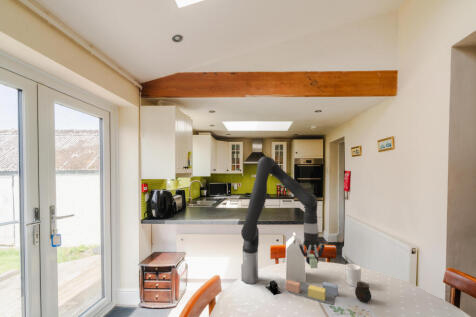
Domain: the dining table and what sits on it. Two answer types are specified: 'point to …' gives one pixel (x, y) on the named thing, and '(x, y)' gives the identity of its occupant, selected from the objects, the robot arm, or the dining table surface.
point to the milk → (295, 260)
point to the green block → (313, 261)
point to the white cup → (353, 274)
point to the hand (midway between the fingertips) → (312, 263)
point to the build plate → (273, 288)
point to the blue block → (330, 288)
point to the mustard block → (317, 292)
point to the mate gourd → (363, 292)
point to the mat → (304, 293)
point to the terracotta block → (293, 286)
